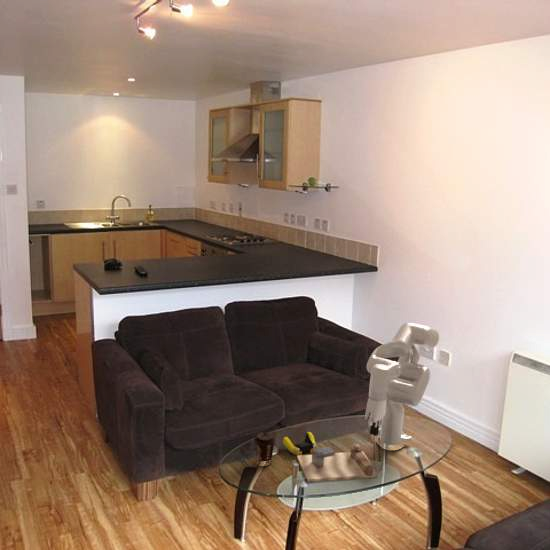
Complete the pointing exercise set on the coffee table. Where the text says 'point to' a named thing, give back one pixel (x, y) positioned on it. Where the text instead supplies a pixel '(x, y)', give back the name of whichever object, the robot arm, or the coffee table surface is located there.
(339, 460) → the pivot board
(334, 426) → the coffee table surface
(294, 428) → the coffee table surface
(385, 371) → the robot arm
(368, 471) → the link
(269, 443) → the coffee cup
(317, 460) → the keeper
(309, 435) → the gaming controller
